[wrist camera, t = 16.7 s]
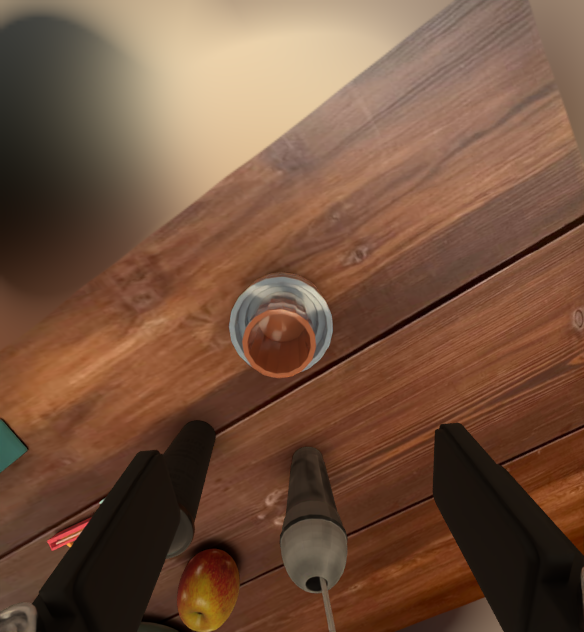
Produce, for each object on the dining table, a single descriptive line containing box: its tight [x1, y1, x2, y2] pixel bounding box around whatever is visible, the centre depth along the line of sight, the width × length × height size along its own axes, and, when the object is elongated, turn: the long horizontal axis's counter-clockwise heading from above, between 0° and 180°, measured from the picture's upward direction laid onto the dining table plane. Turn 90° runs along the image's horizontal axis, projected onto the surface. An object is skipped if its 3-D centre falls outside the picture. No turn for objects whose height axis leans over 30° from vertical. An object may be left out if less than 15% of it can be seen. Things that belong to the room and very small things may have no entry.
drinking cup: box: [163, 421, 215, 559], centre depth 31 cm, size 8×8×20 cm
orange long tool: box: [47, 498, 105, 551], centre depth 43 cm, size 24×2×5 cm
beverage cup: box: [280, 447, 347, 632], centre depth 32 cm, size 7×7×20 cm
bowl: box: [229, 272, 333, 372], centre depth 33 cm, size 11×11×5 cm
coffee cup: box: [242, 291, 316, 378], centre depth 31 cm, size 7×7×9 cm
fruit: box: [177, 549, 240, 632], centre depth 43 cm, size 10×9×8 cm
